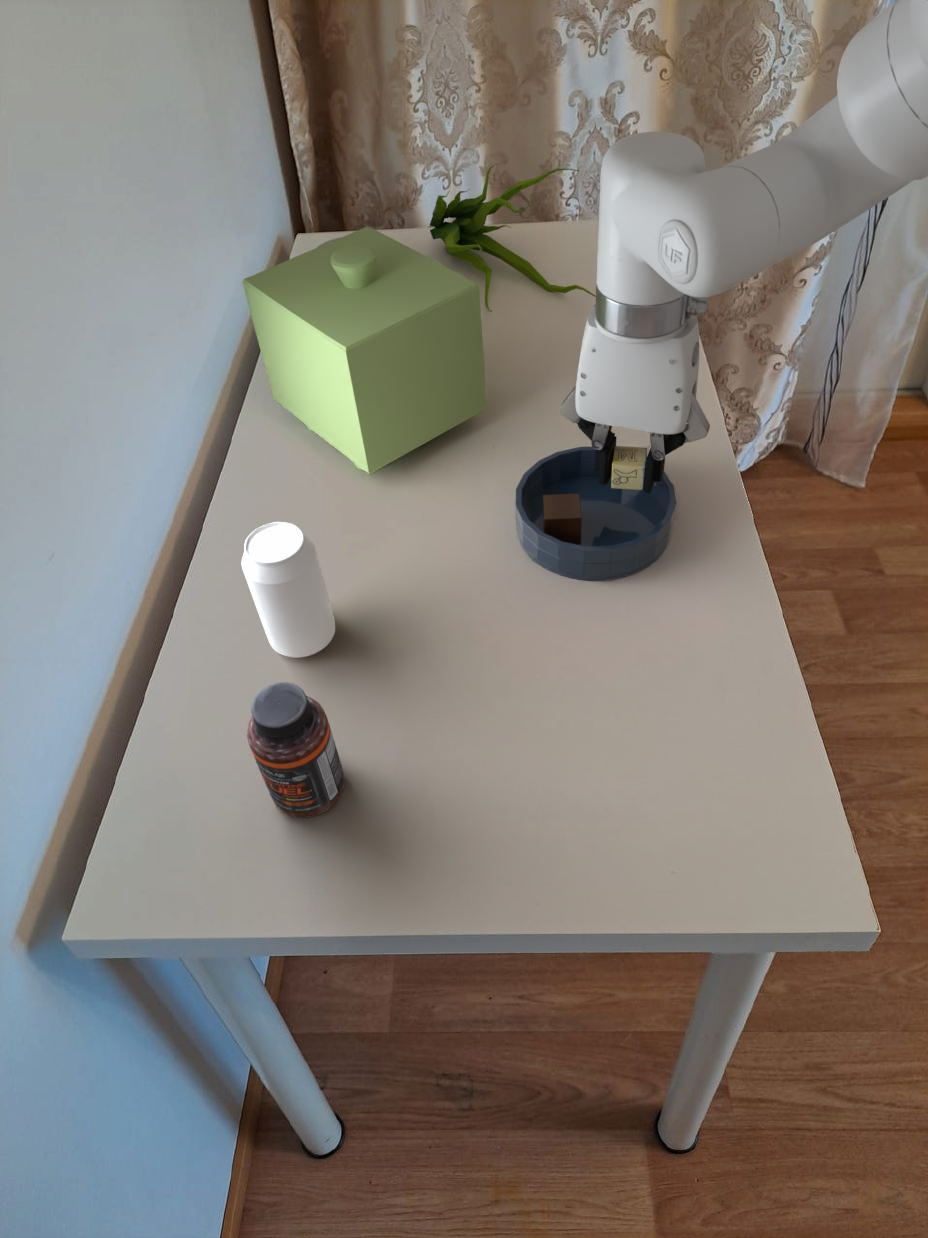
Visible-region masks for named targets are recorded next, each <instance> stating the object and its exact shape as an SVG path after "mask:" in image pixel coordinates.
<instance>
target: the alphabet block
mask: <svg viewBox="0 0 928 1238" xmlns="http://www.w3.org/2000/svg"><path fill="white" fill-rule="evenodd" d="M648 449H649V448H648V447H644V446H643V447H640V446H639V447H638V446H624V445H623V446H622V445H616V446H615V448H614V456H613V463H612V480H611V488H614V489H632V490H643V481H644V471H645V461H646V458H647V455H648Z"/></svg>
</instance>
